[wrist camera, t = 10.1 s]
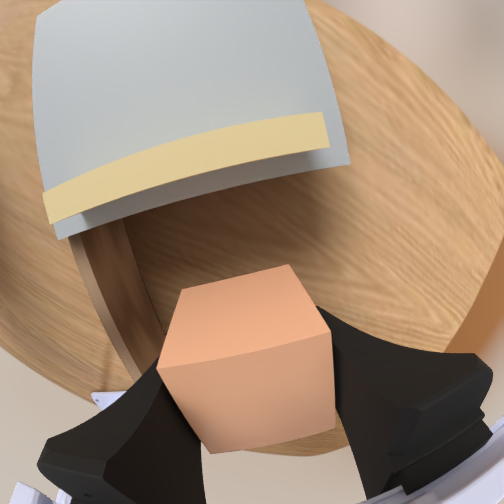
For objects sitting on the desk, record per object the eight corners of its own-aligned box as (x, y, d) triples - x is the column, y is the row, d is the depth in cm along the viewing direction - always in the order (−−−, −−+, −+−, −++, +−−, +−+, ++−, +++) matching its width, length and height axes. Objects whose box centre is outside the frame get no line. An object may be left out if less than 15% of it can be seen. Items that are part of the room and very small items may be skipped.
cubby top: (343, 164, 11) (380, 164, 8) (66, 236, 11) (27, 256, 8) (273, -50, 7) (283, -84, 4) (43, 20, 7) (15, 1, 4)
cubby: (330, 326, 21) (358, 372, 15) (168, 362, 21) (155, 414, 15) (303, 150, 17) (338, 142, 11) (106, 200, 16) (61, 215, 11)
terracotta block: (303, 349, 12) (335, 427, 8) (212, 369, 12) (210, 453, 8) (288, 264, 11) (330, 331, 6) (182, 289, 11) (156, 368, 6)
